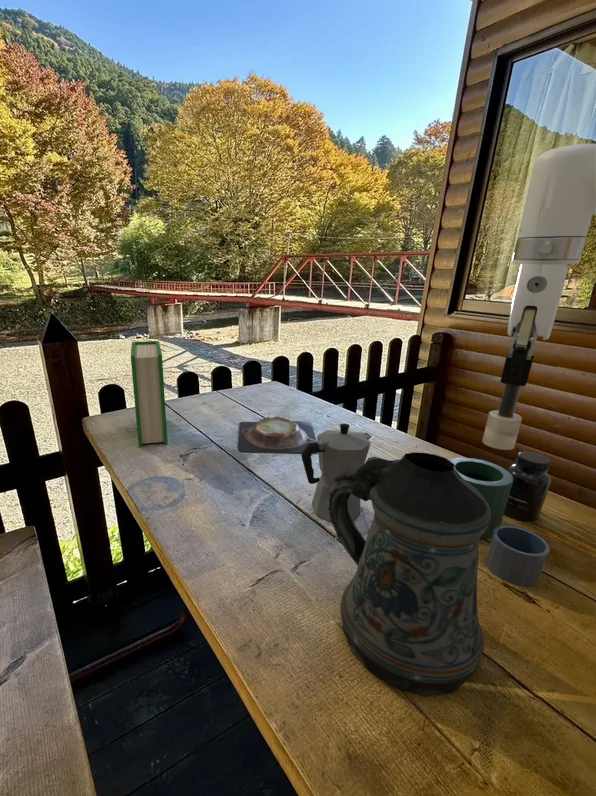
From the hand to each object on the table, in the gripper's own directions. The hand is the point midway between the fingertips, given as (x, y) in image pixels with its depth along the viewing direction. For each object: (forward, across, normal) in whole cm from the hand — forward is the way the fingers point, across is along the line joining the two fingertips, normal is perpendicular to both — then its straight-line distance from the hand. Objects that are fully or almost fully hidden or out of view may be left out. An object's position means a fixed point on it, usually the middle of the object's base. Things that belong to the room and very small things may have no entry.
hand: (513, 381), depth 62 cm
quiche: (+28, +14, +50) cm, 59 cm away
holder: (+28, -7, -6) cm, 30 cm away
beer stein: (+28, -30, +5) cm, 41 cm away
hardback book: (+28, -5, +79) cm, 84 cm away
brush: (+11, 0, 0) cm, 11 cm away
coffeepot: (+28, -9, +23) cm, 38 cm away
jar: (+28, +2, +2) cm, 28 cm away
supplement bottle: (+28, +12, -5) cm, 31 cm away
